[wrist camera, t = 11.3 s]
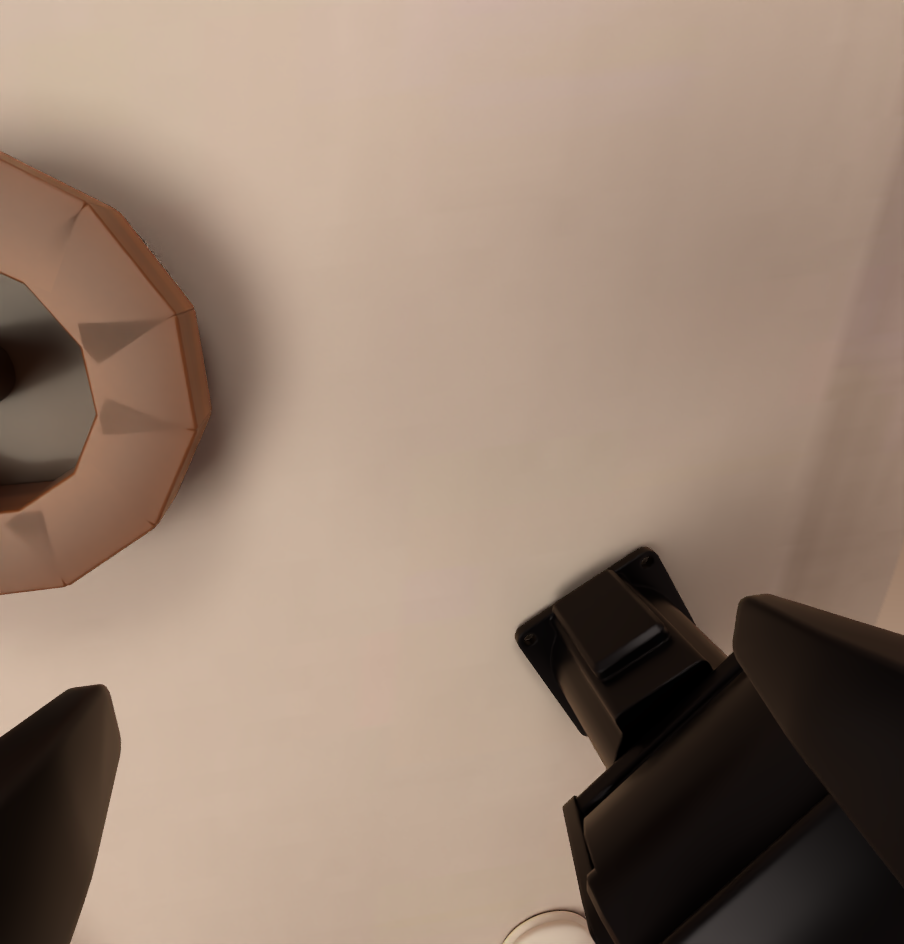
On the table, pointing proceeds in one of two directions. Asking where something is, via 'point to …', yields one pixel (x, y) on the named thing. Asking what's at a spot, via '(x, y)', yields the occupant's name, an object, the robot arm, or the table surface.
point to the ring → (100, 380)
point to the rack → (39, 391)
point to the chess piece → (552, 930)
